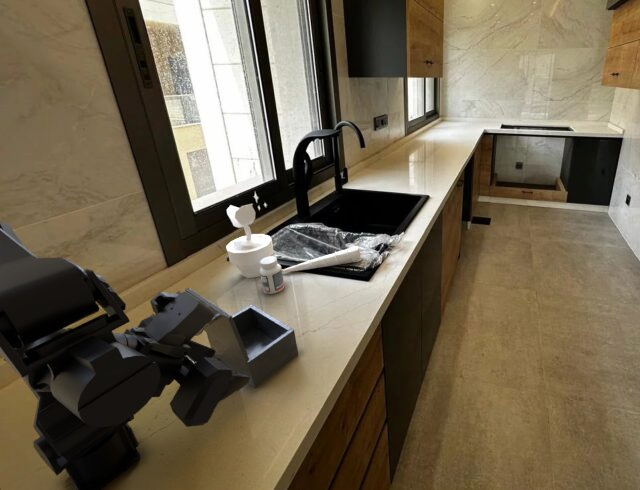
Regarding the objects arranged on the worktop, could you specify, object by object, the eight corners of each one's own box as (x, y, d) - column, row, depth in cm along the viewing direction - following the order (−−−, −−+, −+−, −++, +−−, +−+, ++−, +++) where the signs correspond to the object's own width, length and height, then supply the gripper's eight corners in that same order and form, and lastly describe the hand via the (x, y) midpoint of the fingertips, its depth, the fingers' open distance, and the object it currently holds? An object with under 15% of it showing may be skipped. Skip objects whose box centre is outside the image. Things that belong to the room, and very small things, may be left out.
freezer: (256, 326, 75) (251, 304, 72) (298, 353, 68) (294, 329, 65) (213, 354, 67) (205, 330, 65) (254, 388, 60) (248, 362, 58)
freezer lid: (188, 287, 60) (160, 302, 57) (231, 316, 53) (203, 335, 50) (206, 328, 65) (182, 344, 62) (249, 359, 58) (224, 380, 54)
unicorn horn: (280, 266, 98) (278, 252, 97) (360, 256, 105) (359, 243, 103) (278, 275, 94) (276, 261, 92) (361, 264, 100) (360, 250, 99)
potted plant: (284, 271, 96) (270, 191, 87) (242, 289, 88) (222, 202, 79) (265, 256, 104) (250, 181, 95) (225, 271, 96) (205, 191, 87)
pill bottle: (285, 281, 91) (280, 253, 88) (284, 292, 87) (278, 263, 84) (264, 284, 90) (258, 256, 87) (262, 296, 85) (256, 266, 82)
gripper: (193, 320, 34) (297, 337, 46) (123, 268, 43) (226, 294, 56) (122, 437, 30) (256, 421, 43) (63, 354, 40) (187, 361, 52)
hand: (230, 366), depth 49 cm, fingers open, 9 cm apart
